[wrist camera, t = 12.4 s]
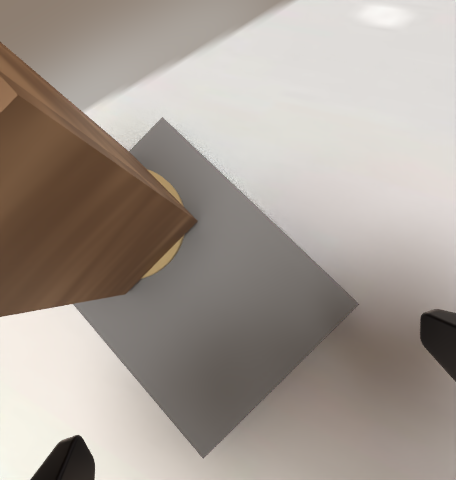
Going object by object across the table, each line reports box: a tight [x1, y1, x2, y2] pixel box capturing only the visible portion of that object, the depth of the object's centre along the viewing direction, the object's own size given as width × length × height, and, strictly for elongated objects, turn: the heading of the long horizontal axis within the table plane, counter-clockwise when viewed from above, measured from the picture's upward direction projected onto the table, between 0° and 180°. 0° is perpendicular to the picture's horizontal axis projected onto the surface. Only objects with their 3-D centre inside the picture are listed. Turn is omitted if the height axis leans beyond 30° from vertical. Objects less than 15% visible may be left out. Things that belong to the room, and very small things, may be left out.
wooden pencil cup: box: [0, 42, 197, 317], centre depth 11 cm, size 6×6×12 cm
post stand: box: [73, 117, 359, 458], centre depth 16 cm, size 16×12×5 cm
